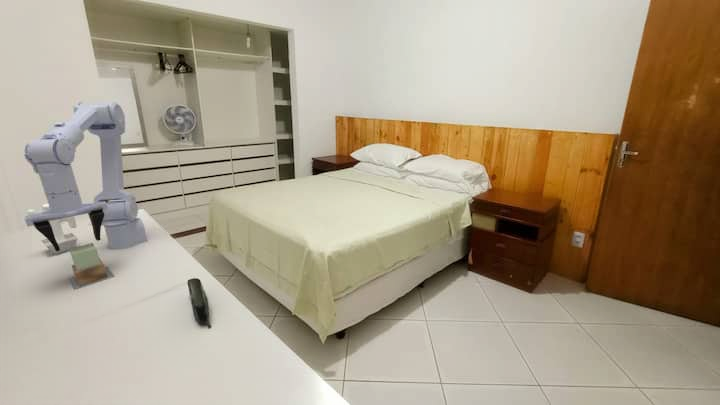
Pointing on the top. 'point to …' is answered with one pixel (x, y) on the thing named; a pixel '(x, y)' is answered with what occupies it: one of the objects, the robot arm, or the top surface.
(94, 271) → the walnut block
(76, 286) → the base tile
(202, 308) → the dark grey elongated piece
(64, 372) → the top surface
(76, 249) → the green cube
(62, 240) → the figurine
